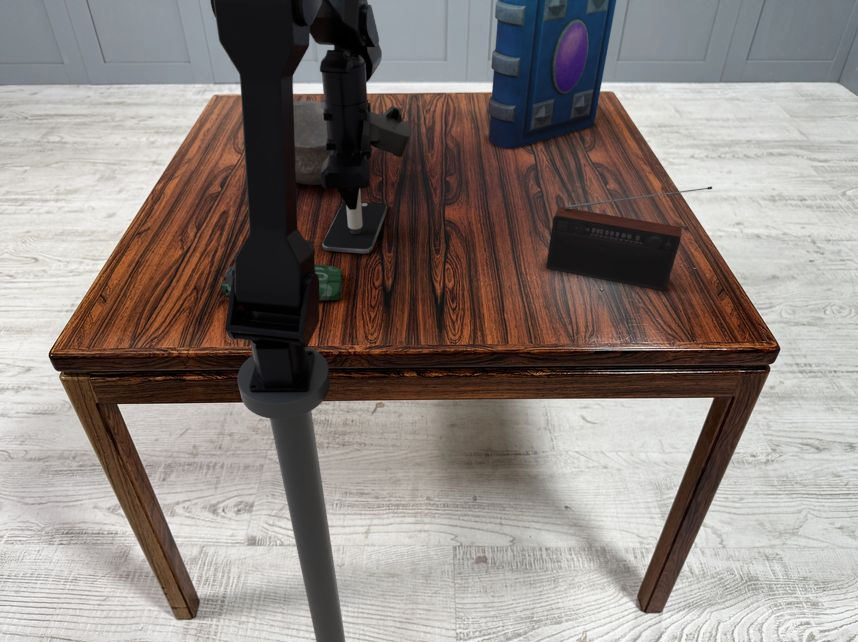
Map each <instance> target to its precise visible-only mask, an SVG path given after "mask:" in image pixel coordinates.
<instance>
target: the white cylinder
mask: <svg viewBox="0 0 858 642" xmlns="http://www.w3.org/2000/svg"><path fill="white" fill-rule="evenodd" d="M361 202H362V195H361V188H359V194H358V201H357V208H356V209H355V210H350V209H348V207H347V205H346V207H347V219H348V227H349V228H350V232H351V233H352V234H359V233H360V232H361V227H362V226H363V224H362V209H361Z"/></svg>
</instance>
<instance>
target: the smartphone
mask: <svg viewBox="0 0 858 642" xmlns="http://www.w3.org/2000/svg"><path fill="white" fill-rule="evenodd" d="M361 209H362V224H363V226H362V227H361V232H360V233H359V234H352V233H351V232H350V228H349V227H348V219H347V207H346V204H345V202H344V201H343V202H342V203H341V205H340V207H339V209H338V210H337V213H336V214H335V217H334V219H333V221H332V223H331V225H330V227H329V229H328V230H327V232H326V235H325V237H324V239H323V241H322V244H321V247H322V249H323V250H324V251H327V252H337V253H349V254H351V253H352V254H370V253H371V252H372V251H373V250H374V247H375V245H376V242H377V239H378V237H379V234H380V231H381V228H382V225H383V223H384V220H385V217H386V215H387V212H388V206H387V204H384V203H380V202H367V201H365V202H364V201H361Z"/></svg>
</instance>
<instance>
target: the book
mask: <svg viewBox="0 0 858 642" xmlns="http://www.w3.org/2000/svg"><path fill="white" fill-rule="evenodd" d="M616 5H617V0H496V2H495V11H494V12H495V13H494V18H495V19H496V20H497V22H496V35H495V48H494V50H493V51H492V53H491V65H490V68H491V69H492V70H493V74H492V75H493V77H492V89H491V95H490V97H489V98H488V109H487V113H488V114H489V129H488V141H489V143H491V144H492V145H494V146H496V147H499V148H501V149H508V150H515V149H518V148H522V147H525V146H527V145H528V146H529V145H532V144H535V143H539V142H542V141H546V140H549V139H553V138H556V137H559V136H564V135H568V134H571V133H574V132H578V131H580V130H581V131H582V130H585V129H588V128H591V127H594V126H595V121H596V116H597V110H598V105H599V100H600V93H601V89H602V83H603V78H604V71H605V66H606V61H607V55H608V50H609V44H610V38H611V33H612V27H613V21H614V16H615V10H616Z"/></svg>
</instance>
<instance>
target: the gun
mask: <svg viewBox="0 0 858 642" xmlns="http://www.w3.org/2000/svg"><path fill="white" fill-rule="evenodd" d="M234 271H235V264H233V265H232V266H230V267H229V268H228V269H227V271H226V272H225V274H224V275H225V276H224V278H225V280H222V281H221V282H222V283H221V284H220V287H221V293H222V295H225V298H226V299H229V298H230V291H231V281H232V278H233V274H234ZM315 273H316V274H317V275H318V278H319V301H340V299H342V297H343V277H344V276H343V270H342V269H341V268H338V267H336V266H332V265H328V264H315Z"/></svg>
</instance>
